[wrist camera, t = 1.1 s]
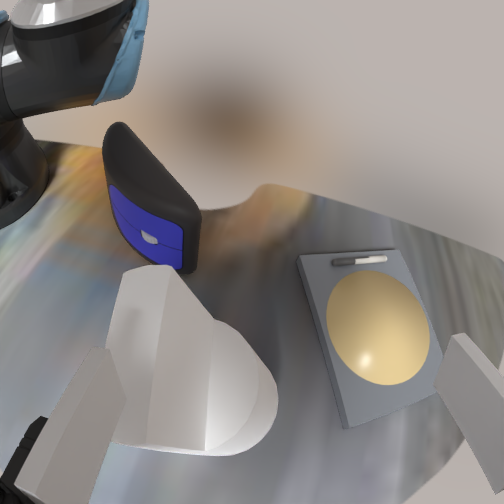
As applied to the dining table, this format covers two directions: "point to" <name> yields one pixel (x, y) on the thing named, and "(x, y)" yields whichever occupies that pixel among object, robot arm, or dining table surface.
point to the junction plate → (371, 332)
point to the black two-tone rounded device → (150, 203)
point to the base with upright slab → (184, 371)
